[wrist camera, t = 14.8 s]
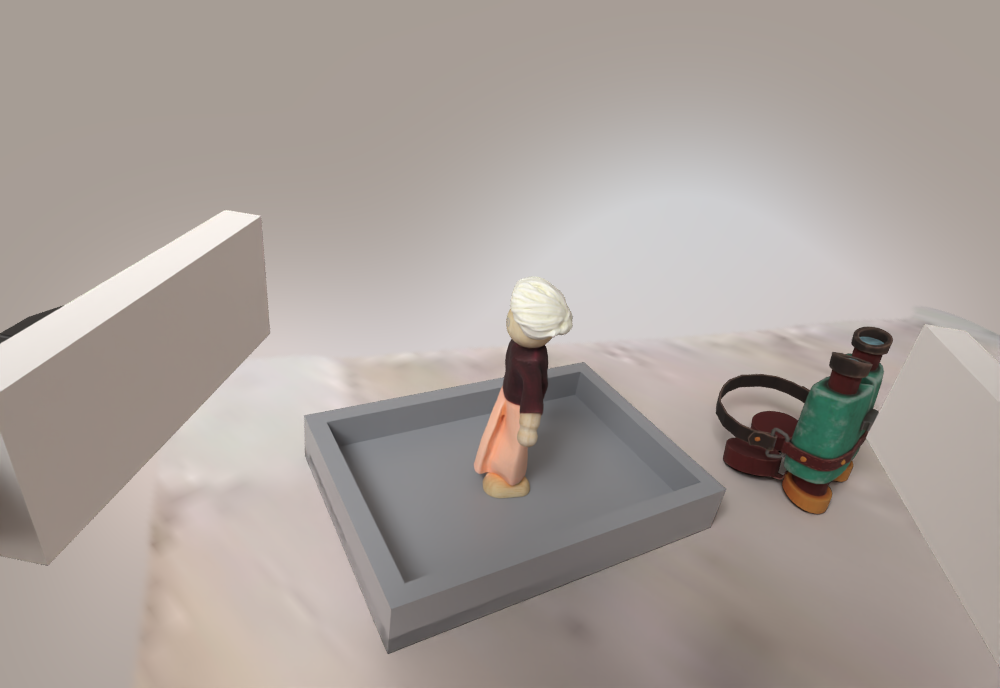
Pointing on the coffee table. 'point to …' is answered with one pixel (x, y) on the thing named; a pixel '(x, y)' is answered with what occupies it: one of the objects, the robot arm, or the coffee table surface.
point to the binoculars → (811, 423)
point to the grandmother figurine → (521, 387)
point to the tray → (496, 499)
